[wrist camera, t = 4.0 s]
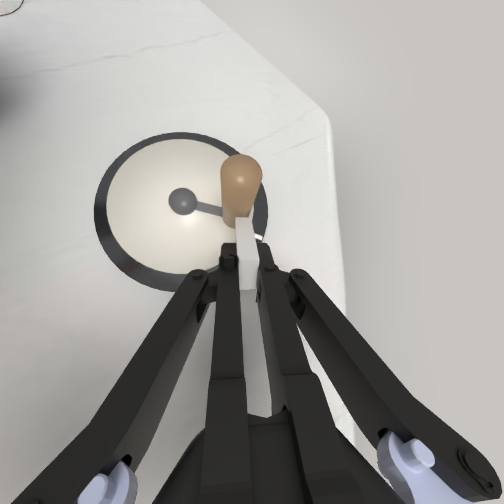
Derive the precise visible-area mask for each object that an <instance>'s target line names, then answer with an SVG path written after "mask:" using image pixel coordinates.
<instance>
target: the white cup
mask: <svg viewBox="0 0 504 504" xmlns="http://www.w3.org/2000/svg"><path fill="white" fill-rule="evenodd" d="M22 1H23V0H0V15H4V14H8V13H11V12H13V11H14V10H16V9H17V8H19V7H20V5H21V3H22Z"/></svg>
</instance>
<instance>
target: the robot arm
mask: <svg viewBox="0 0 504 504" xmlns="http://www.w3.org/2000/svg"><path fill="white" fill-rule="evenodd" d="M256 285H257V295H256V302H258V309H259V315H260V322H261V329H262V336H263V343H264V350H265V357H266V364H267V371H268V378H269V384H270V391H271V399H272V416H271V417H268V418H264V417H260V416H256V415H252V414H247V397H246V382H245V377H244V364H243V345H242V325H241V306H240V290H256ZM215 301H216V312H215V325H214V338H213V351H212V364H211V376H210V381H209V388H208V400H207V412H206V424H205V428H204V429H203V430H202V431H201V432H200V433H199V434H198V435H197V436H196V437H195V438H194V439H193V440H192V442H191V443H190V445H189V446H188V447H187V449H186V451H185V452H184V454H183V455H182V457H181V459H180V460H179V462H178V463H177V465H176V466H175V468H174V470H173V471H172V473H171V474H170V476H169V477H168V479H167V481H166V482H165V484H164V485H163V487H162V488H161V490H160V492H159V493H158V495H157V496H156V498H155V499H154V501H153V503H152V504H474V503H476V502H479V501H485V500H492V499H499V498H500V496H501V494H502V488H501V482H500V480H499V478H498V476H497V474H496V472H495V470H494V468H493V467H492V466H491V464H490V463H489V462H488V460H487V459H486V458H485V457H484V456H483V455H482V454H481V453H480V452H479V451H478V450H477V449H476V448H475V447H474V446H473V445H471V444H470V443H469V442H468V441H466V440H465V439H464V438H463V437H462V436H460V435H459V434H458V433H457V432H456V431H454V430H453V429H452V428H451V427H449V426H448V425H447V424H446V423H445V422H443V421H442V420H441V419H440V418H439V417H437V416H436V415H435V414H434V413H433V412H431V411H430V410H429V409H428V408H426V407H425V406H424V405H423V404H422V403H420V402H419V401H418V400H417V399H415V398H414V397H413V396H412V395H411V393H409V391H408V390H407V389H406V388H405V387H404V385H403V384H402V383H401V382H400V381H399V379H398V378H397V377H396V376H395V375H394V374H393V372H392V371H391V370H390V369H389V368H388V367H387V365H386V364H385V363H384V362H383V361H382V359H381V358H380V357H379V356H378V355H377V354H376V352H375V351H374V350H373V349H372V348H371V347H370V345H369V344H368V343H367V342H366V341H365V339H364V338H363V337H362V336H361V335H360V334H359V332H358V331H357V330H356V329H355V328H354V327H353V325H352V324H351V323H350V322H349V321H348V320H347V318H346V317H345V316H344V315H343V314H342V312H341V311H340V310H339V309H338V308H337V307H336V305H335V304H334V303H333V302H332V301H331V300H330V298H329V297H328V296H327V295H326V294H325V293H324V291H323V290H322V289H321V288H320V287H319V285H318V284H317V283H316V282H315V281H314V280H313V278H312V277H311V276H310V275H309V274H308V273H307V272H306V271H304V270H302V269H293V270H291V271H290V273H288V272H284V271H281V270H279V268H278V266H277V265H275V264H274V261H273V257H272V254H271V251H270V247H269V246H268V245H267V244H266V243H256V240H255V235H254V230H253V225H252V220H251V218H247V217H236V219H235V243H223V244H222V246H221V255H220V256H219V268H218V269H217V270H215V271H213V272H210V273H207V272H206V271H205V270H203V269H195V270H192V271H190V272H189V273H188V274H187V276H186V277H185V279H184V280H183V282H182V283H181V285H180V286H179V288H178V289H177V291H176V292H175V294H174V295H173V297H172V298H171V300H170V301H169V303H168V304H167V306H166V308H165V309H164V311H163V312H162V314H161V315H160V317H159V318H158V320H157V321H156V323H155V324H154V326H153V327H152V329H151V330H150V332H149V333H148V335H147V336H146V338H145V340H144V341H143V343H142V344H141V346H140V347H139V349H138V350H137V352H136V353H135V355H134V356H133V358H132V359H131V361H130V362H129V364H128V365H127V367H126V368H125V370H124V372H123V373H122V375H121V376H120V378H119V379H118V381H117V382H116V384H115V385H114V387H113V388H112V390H111V391H110V393H109V394H108V396H107V397H106V399H105V401H104V402H103V404H102V405H101V407H100V408H99V410H98V411H97V413H96V414H95V416H94V417H93V419H92V420H91V422H90V423H89V425H88V426H87V427H86V428H85V429H84V430H83V431H82V432H81V433H80V434H79V435H78V436H77V437H76V438H75V439H74V440H73V441H72V442H71V443H70V444H69V445H68V446H67V447H66V448H65V449H64V450H63V451H62V452H61V453H60V454H59V455H58V456H57V457H56V458H55V459H54V460H53V461H52V462H51V463H50V464H49V465H48V466H47V467H46V468H45V469H44V470H43V471H42V472H41V473H40V474H39V476H38V477H37V478H36V479H35V480H34V481H33V482H32V483H31V484H30V485H29V486H28V487H27V488H26V489H25V490H24V491H23V492H22V493H21V494H20V495H19V496H18V497H17V498H16V499H15V500H14V501H13V502H12V503H11V504H134V502H135V499H136V495H137V486H138V484H137V478H136V476H135V474H134V472H135V471H136V469H137V468H138V466H139V464H140V462H141V460H142V459H143V457H144V455H145V453H146V451H147V449H148V447H149V445H150V443H151V441H152V439H153V437H154V434H155V432H156V430H157V427H158V425H159V423H160V420H161V418H162V416H163V413H164V411H165V409H166V406H167V404H168V401H169V399H170V397H171V394H172V392H173V390H174V387H175V385H176V383H177V380H178V378H179V376H180V373H181V371H182V369H183V366H184V364H185V361H186V359H187V357H188V354H189V352H190V350H191V347H192V345H193V343H194V340H195V338H196V336H197V333H198V331H199V329H200V326H201V324H202V322H203V319H204V317H205V314H206V312H207V310H208V307H209V305H210V303H212V302H215ZM296 324H297V325H298V327H299V329H300V330H301V332H302V334H303V335H304V337H305V339H306V340H307V342H308V344H309V345H310V347H311V349H312V350H313V352H314V354H315V355H316V357H317V359H318V360H319V362H320V364H321V365H322V367H323V369H324V370H325V372H326V374H327V376H328V377H329V379H330V381H331V382H332V384H333V386H334V387H335V389H336V391H337V392H338V394H339V396H340V397H341V399H342V401H343V402H344V404H345V406H346V407H347V409H348V411H349V412H350V414H351V416H352V417H353V419H354V420H355V422H356V423H357V425H358V427H359V428H360V430H361V431H362V432H363V434H364V435H365V436H366V438H367V439H368V440H369V442H370V443H371V444H372V446H373V447H374V448H375V449H376V450H377V458H378V462H377V463H378V468H379V470H380V471H381V473H382V474H383V476H384V477H385V478H387V479H388V480H389V481H390V483H391V485H392V487H393V489H394V490H393V489H392V488H391V487H390V486H389V484H388V483H386V481H385V480H384V479H383V478H382V477H381V476H380V475H379V474H378V472H377V471H376V470H375V469H374V468H373V467H372V466H371V465H370V464H369V463H368V461H367V460H366V459H365V458H364V457H363V456H362V455H361V454H360V453H359V452H358V450H357V449H356V448H355V447H354V446H353V445H352V444H351V443H350V442H349V441H348V439H347V438H346V437H345V436H344V435H343V434H342V433H341V432H340V431H339V430H338V429H337V428H336V426H335V424H334V421H333V418H332V415H331V412H330V409H329V406H328V403H327V400H326V397H325V394H324V391H323V388H322V385H321V382H320V380H319V378H318V376H317V375H316V374H315V373H313V372H312V371H311V369H310V366H309V363H308V360H307V356H306V353H305V350H304V347H303V344H302V341H301V337H300V334H299V331H298V328H297V325H296Z"/></svg>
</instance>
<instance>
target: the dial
mask: <svg viewBox="0 0 504 504" xmlns="http://www.w3.org/2000/svg"><path fill="white" fill-rule="evenodd" d="M261 180H262V170H261V167H260V165H259V164H258V163H257V161H256V160H254V159H253V158H252V157H250V156H247V155H243V154H237V155H232V156H230V157H229V156H228V155H227V154H225V153H224V152H223V151H221V150H219V149H218V148H216V147H213V146H211V145H209V144H206V143H203V142H200V141H195V140H188V139H172V140H165V141H161V142H157V143H154V144H151V145H149V146H146V147H144V148H143V149H141V150H139V151H137V152H136V153H135V154H133V155H132V156H131V157H129V158H128V159H127V160H126V161H125V162H124V163H123V164H122V166H121V167H120V168H119V169H118V171H117V173H116V174H115V176H114V178H113V180H112V182H111V185H110V187H109V191H108V195H107V204H106V206H107V217H108V222H109V225H110V228H111V231H112V233H113V235H114V237H115V239H116V240H117V242H118V243H119V244H120V246H121V247H122V248H123V249H124V250H125V251H126V252H127V253H128V254H129V255H130V256H131V257H132V258H134V259H135V260H136V261H138V262H140V263H141V264H143V265H145V266H147V267H150V268H152V269H155V270H158V271H162V272H166V273H173V274H188V273H189V272H190V271H192V270H195V269H203V270H208V269H210V268H213V267H215V266H217V265H219V256H220V255H221V246H222V244H223V243H235V219H236V217H247V218H251V220H252V218H253V211H254V201H255V198H256V195H257V192H258V189H259V186H260V183H261Z"/></svg>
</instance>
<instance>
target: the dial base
mask: <svg viewBox="0 0 504 504" xmlns="http://www.w3.org/2000/svg"><path fill="white" fill-rule="evenodd" d="M172 139H188V140H195V141H200V142H203V143H206V144H209V145H211V146H213V147H216V148H218V149H219V150H221V151H223V152H224V153H225V154H227V155H228V156H229V157H230V156H232V155H237V154H240V153H239V152H237V151H236V150H235V149H234V148H232V147H230V146H229V145H227V144H226V143H224V142H221V141H219V140H217V139H215V138H212V137H209V136H206V135H201V134H196V133H187V132H174V133H166V134H161V135H157V136H153V137H150V138H148V139H145V140H143V141H141V142H139V143H137V144H135V145H133V146H132V147H130V148H129V149H127V150H126V151H124V152H123V153H122V154H121V155H120V156H119V157H118V158H117V159H116V160H115V161H114V162H113V163H112V164H111V165H110V167H109V168H108V170H107V171H106V173H105V174H104V176H103V178H102V180H101V182H100V184H99V187H98V190H97V193H96V197H95V204H94V221H95V228H96V232H97V235H98V238H99V241H100V243H101V245H102V247H103V249H104V251H105V252H106V254H107V255H108V257H109V258H110V259H111V261H112V262H113V263H114V264H115V265H116V266H117V267H118V268H119V269H120V270H121V271H122V272H124V273H125V274H126V275H128V276H129V277H130V278H132V279H134V280H136V281H137V282H139V283H141V284H144V285H146V286H149V287H151V288H155V289H159V290H162V291H170V292H176V291H177V289H178V288H179V286H180V285H181V283H182V282H183V280H184V279H185V277H186V276H187V274H173V273H166V272H162V271H158V270H155V269H152V268H150V267H147V266H145V265H143V264H141V263H140V262H138V261H136V260H135V259H134V258H132V257H131V256H130V255H129V254H128V253H127V252H126V251H125V250H124V249H123V248H122V247H121V246H120V244H119V243H118V242H117V240H116V239H115V237H114V235H113V233H112V231H111V228H110V225H109V222H108V217H107V206H106V204H107V195H108V191H109V187H110V185H111V182H112V180H113V178H114V176H115V174H116V173H117V171H118V169H119V168H120V167H121V166H122V164H123V163H124V162H125V161H126V160H127V159H128V158H129V157H131V156H132V155H133V154H135V153H136V152H137V151H139V150H141V149H143V148H144V147H146V146H149V145H151V144H154V143H157V142H161V141H165V140H172ZM267 219H268V205H267V198H266V194H265V190H264V187H263V185H262V182H261V183H260V186H259V189H258V192H257V195H256V198H255V201H254V211H253V218H252V225H253V230H254V235H255V240H256V243H261V242H262V240H263V237H264V234H265V230H266V227H267ZM218 268H219V265H217V266H215V267H213V268H210V269H208V270H205V271H206V272H207V273H210V272H213V271H215V270H217V269H218Z"/></svg>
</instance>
